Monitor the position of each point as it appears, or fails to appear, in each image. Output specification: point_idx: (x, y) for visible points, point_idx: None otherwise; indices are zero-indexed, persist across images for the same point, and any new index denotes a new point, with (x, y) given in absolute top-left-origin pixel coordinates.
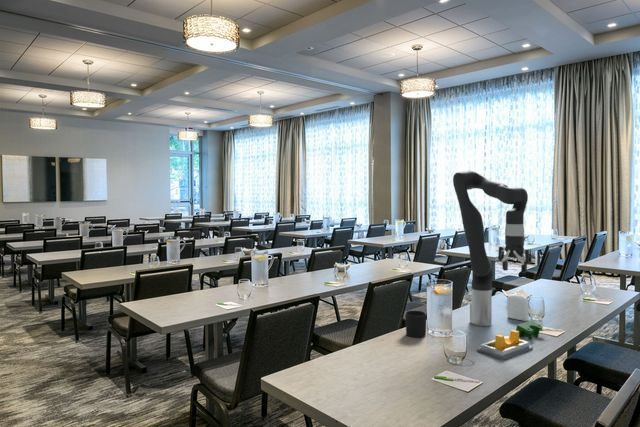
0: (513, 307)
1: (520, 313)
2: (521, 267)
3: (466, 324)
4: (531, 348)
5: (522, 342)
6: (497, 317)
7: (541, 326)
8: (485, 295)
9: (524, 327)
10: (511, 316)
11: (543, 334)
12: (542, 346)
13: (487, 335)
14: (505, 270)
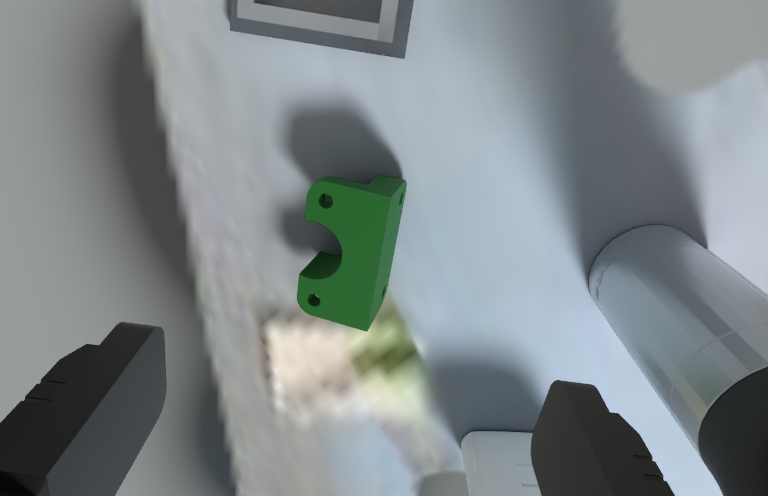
0: None
1: (497, 457)
2: (87, 408)
3: (716, 205)
4: (232, 14)
5: (276, 6)
6: None
7: (303, 302)
8: (709, 354)
9: (349, 202)
10: None
11: None
12: (228, 123)
13: (539, 92)
14: (548, 393)
